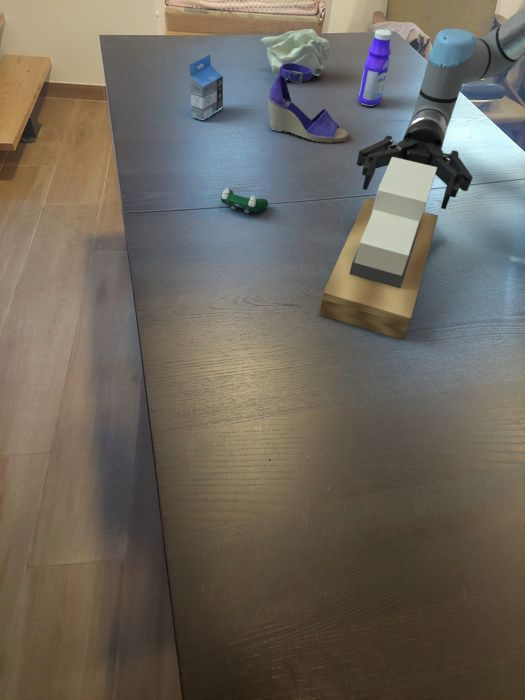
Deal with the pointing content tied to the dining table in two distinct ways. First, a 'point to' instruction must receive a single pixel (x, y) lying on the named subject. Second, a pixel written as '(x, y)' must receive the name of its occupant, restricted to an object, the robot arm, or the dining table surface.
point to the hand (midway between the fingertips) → (405, 192)
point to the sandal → (291, 116)
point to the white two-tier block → (394, 222)
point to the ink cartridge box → (205, 88)
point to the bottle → (375, 68)
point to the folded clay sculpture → (297, 50)
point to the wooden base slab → (376, 284)
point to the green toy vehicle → (243, 201)
